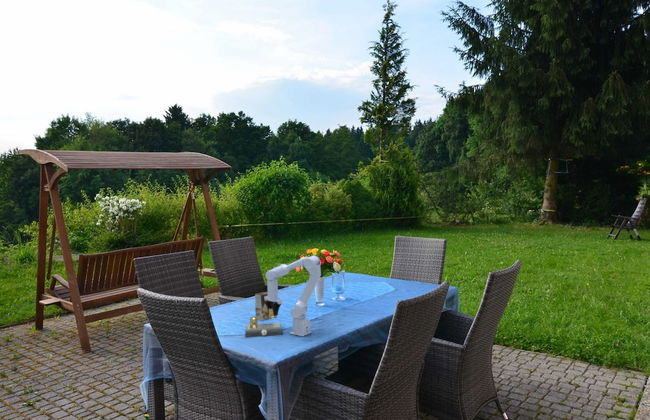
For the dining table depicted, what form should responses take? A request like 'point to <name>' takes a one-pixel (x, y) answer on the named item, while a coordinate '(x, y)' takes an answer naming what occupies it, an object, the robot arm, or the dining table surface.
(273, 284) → the robot arm
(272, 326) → the scale
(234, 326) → the dining table surface
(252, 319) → the cylinder
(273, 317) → the cylinder
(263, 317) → the coffee box
